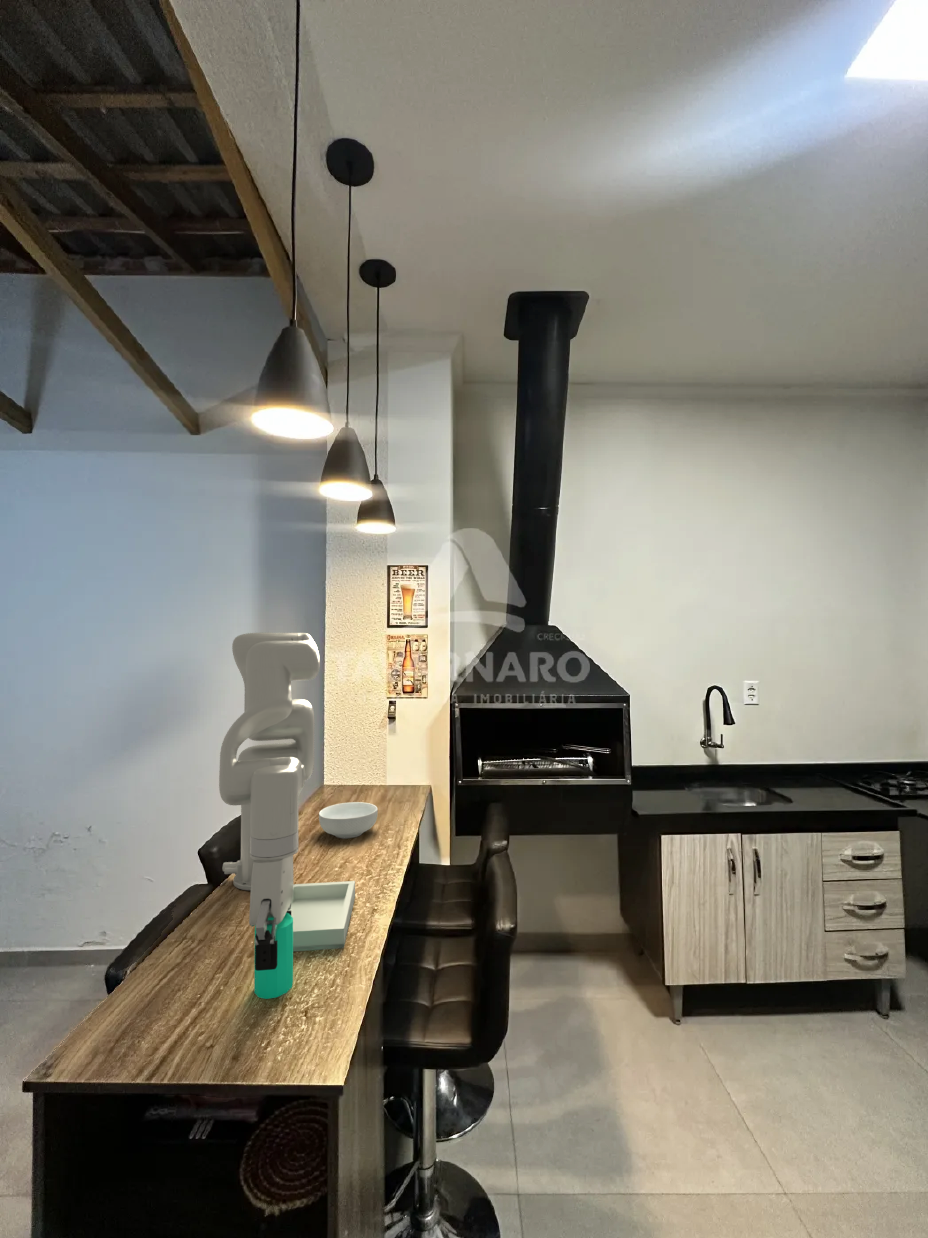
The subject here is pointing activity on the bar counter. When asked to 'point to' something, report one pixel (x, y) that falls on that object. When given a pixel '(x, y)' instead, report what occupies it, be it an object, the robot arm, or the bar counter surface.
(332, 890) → the tray
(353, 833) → the cereal bowl
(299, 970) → the bar counter surface
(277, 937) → the candle
